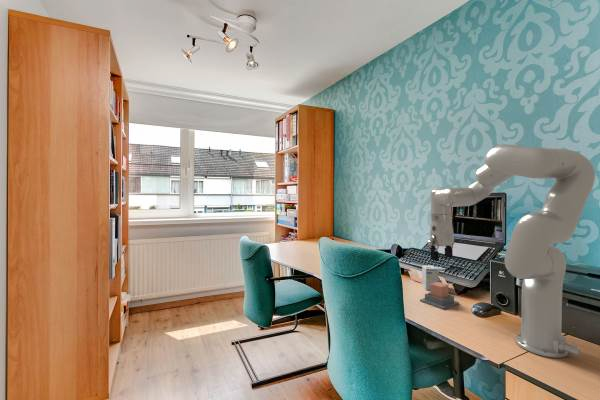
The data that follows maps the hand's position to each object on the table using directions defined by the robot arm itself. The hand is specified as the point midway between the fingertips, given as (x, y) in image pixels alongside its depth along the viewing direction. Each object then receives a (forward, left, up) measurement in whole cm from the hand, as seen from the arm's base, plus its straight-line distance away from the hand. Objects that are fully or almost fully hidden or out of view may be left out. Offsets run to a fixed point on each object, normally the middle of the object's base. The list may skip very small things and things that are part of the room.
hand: (441, 258), depth 124 cm
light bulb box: (+14, -16, -20) cm, 28 cm away
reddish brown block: (+1, -1, -18) cm, 18 cm away
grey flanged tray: (+2, -1, -19) cm, 19 cm away
